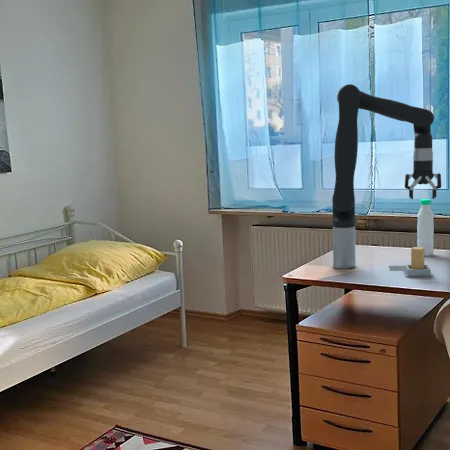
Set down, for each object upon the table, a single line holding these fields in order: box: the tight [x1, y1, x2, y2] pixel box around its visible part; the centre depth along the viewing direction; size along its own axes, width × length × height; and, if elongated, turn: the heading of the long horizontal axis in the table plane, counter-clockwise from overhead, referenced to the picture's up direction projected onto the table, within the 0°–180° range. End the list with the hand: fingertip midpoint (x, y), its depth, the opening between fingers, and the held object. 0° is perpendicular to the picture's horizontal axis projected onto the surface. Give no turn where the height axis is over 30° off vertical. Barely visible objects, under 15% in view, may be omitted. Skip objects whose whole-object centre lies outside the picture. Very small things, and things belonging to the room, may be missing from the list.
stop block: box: [410, 246, 426, 269], centre depth 251 cm, size 4×4×10 cm
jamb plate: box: [388, 265, 405, 272], centre depth 263 cm, size 12×9×1 cm
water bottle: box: [416, 198, 435, 257], centre depth 288 cm, size 7×7×25 cm
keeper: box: [402, 264, 434, 278], centre depth 252 cm, size 10×10×3 cm
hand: (422, 198), depth 265 cm, fingers open, 8 cm apart
